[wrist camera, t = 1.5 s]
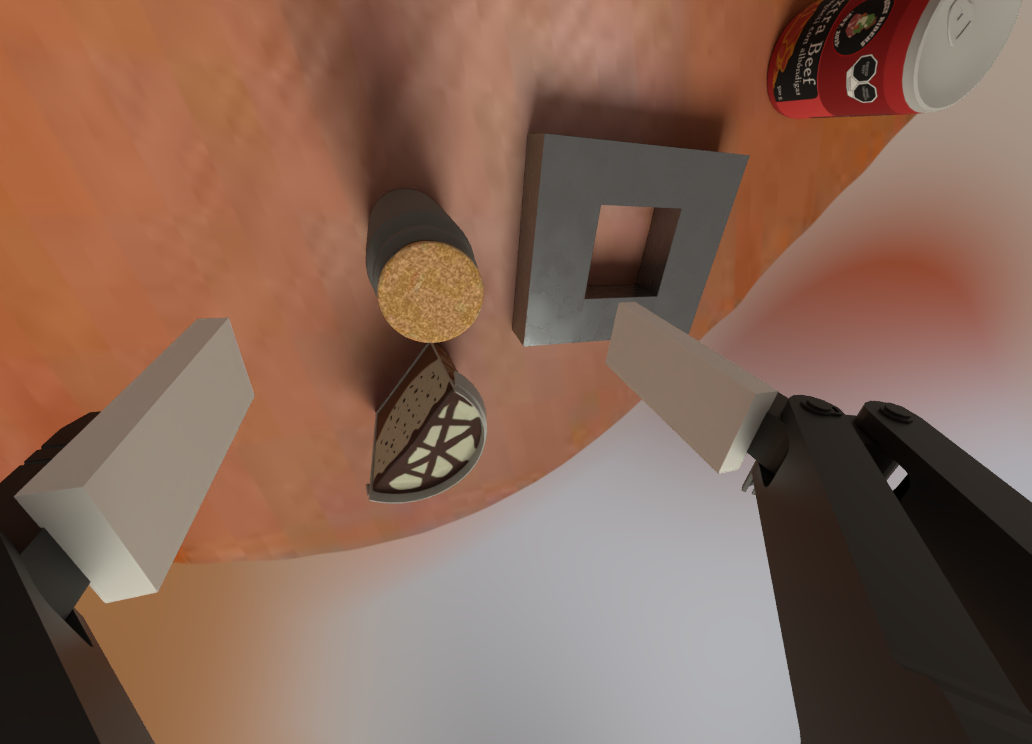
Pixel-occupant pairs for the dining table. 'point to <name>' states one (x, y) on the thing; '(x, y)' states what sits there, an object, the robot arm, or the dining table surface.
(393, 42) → the dining table surface
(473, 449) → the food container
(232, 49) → the dining table surface
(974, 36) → the canned food
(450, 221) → the bottle
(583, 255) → the plate
